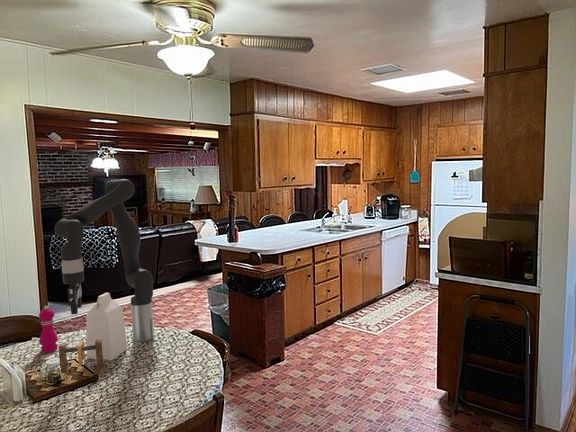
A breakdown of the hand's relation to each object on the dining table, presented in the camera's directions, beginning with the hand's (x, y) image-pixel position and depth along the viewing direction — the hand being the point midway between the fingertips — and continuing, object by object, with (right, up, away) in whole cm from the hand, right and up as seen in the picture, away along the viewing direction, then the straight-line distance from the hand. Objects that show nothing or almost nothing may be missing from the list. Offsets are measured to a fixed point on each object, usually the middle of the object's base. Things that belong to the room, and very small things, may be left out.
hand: (76, 310), depth 172 cm
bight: (+3, -20, -2) cm, 20 cm away
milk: (+5, -22, +17) cm, 29 cm away
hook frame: (+3, -24, -1) cm, 24 cm away
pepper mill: (-23, -23, +23) cm, 40 cm away
